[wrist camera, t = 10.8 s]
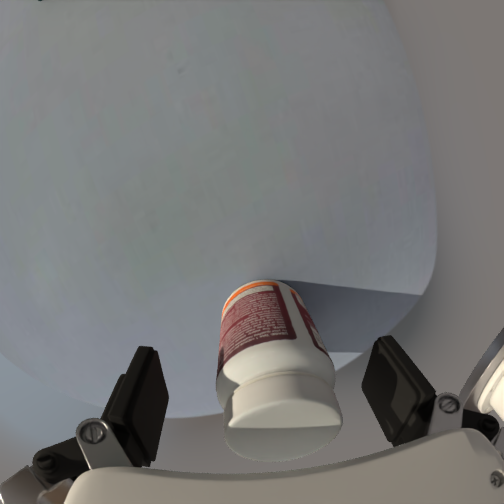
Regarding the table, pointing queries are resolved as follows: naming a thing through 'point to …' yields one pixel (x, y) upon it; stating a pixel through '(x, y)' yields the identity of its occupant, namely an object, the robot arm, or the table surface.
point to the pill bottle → (274, 376)
